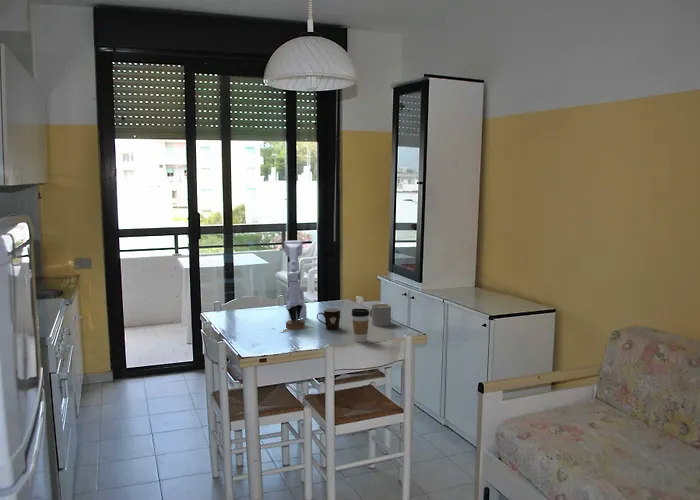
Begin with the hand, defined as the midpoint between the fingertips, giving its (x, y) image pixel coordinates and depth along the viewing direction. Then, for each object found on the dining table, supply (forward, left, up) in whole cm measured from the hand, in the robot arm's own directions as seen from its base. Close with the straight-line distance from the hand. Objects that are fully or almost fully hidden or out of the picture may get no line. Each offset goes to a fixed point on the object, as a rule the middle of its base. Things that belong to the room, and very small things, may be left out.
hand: (295, 320), depth 300 cm
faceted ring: (0, 0, -4) cm, 4 cm away
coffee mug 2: (-40, +20, -4) cm, 45 cm away
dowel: (0, 0, -2) cm, 3 cm away
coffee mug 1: (-13, +13, -4) cm, 19 cm away
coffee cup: (-12, +42, -4) cm, 44 cm away
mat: (+2, -3, -4) cm, 6 cm away
